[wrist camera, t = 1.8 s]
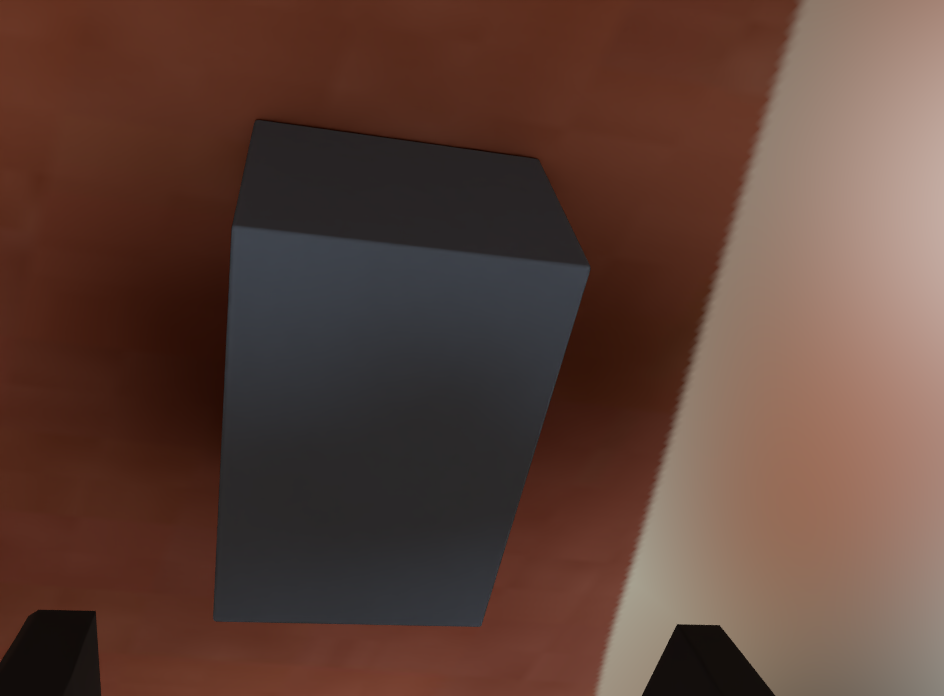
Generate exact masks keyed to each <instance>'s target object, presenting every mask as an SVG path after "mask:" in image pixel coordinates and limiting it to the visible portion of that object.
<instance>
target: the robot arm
mask: <svg viewBox="0 0 944 696" xmlns="http://www.w3.org/2000/svg"><path fill="white" fill-rule="evenodd" d="M0 696H101V686H100V671H99V655H98V640H97V625H96V611H70V610H37V611H36V612H34V613H33V614H31V615H29V616H28V618H27V619H26V621H25V623H24V625H23V626H22V628H21V630H20V631H19V633H18V635H17V636H16V638H15V640H14V641H13V643H12V645H11V646H10V648H9V649H8V651H7V653H6V654H5V656H4V657H3V659H2V661H1V662H0ZM642 696H775V695H774V694H773V692H772V691H771V690H770V688H769V687H768V686H767V685H766V684H765V682H764V681H763V680H762V678H761V677H760V676H759V675H758V673H757V672H756V671H755V669H754V668H753V667H752V666H751V664H750V663H749V662H748V660H747V659H746V658H745V657H744V655H743V654H742V653H741V652H740V650H739V649H738V648H737V647H736V645H735V644H734V643H733V642H732V640H731V639H730V638H729V637H728V635H727V634H726V633H725V632H724V630H723V629H722V628H721V627H720V625H679V624H678V625H677V626H676V628H675V630H674V632H673V634H672V636H671V638H670V640H669V642H668V644H667V646H666V648H665V650H664V652H663V654H662V656H661V658H660V660H659V662H658V664H657V666H656V668H655V670H654V672H653V674H652V676H651V678H650V680H649V682H648V684H647V686H646V688H645V690H644V692H643V695H642Z"/></svg>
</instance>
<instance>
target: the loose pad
mask: <svg viewBox="0 0 944 696" xmlns="http://www.w3.org/2000/svg"><path fill="white" fill-rule="evenodd" d="M589 272H590V265H589V263H588V261H587V259H586V257H585V254H584V252H583V250H582V248H581V246H580V244H579V242H578V240H577V238H576V236H575V234H574V232H573V230H572V228H571V226H570V223H569V221H568V219H567V217H566V215H565V213H564V211H563V209H562V207H561V205H560V203H559V201H558V199H557V197H556V194H555V192H554V190H553V188H552V186H551V184H550V182H549V180H548V178H547V176H546V174H545V172H544V170H543V168H542V166H541V163H540V161H539V160H538V159H533V158H526V157H519V156H512V155H505V154H497V153H490V152H483V151H476V150H469V149H462V148H455V147H447V146H440V145H433V144H426V143H419V142H412V141H405V140H397V139H390V138H383V137H376V136H369V135H362V134H355V133H347V132H340V131H333V130H326V129H319V128H312V127H305V126H297V125H290V124H283V123H276V122H269V121H262V120H256V121H255V123H254V127H253V132H252V136H251V141H250V145H249V150H248V155H247V159H246V164H245V169H244V173H243V178H242V182H241V187H240V192H239V196H238V201H237V206H236V210H235V215H234V220H233V224H232V231H231V252H230V273H229V294H228V315H227V336H226V357H225V378H224V400H223V421H222V442H221V463H220V484H219V505H218V526H217V547H216V568H215V589H214V610H213V619H214V621H219V622H269V623H319V624H369V625H419V626H469V627H479V626H481V625H482V621H483V618H484V615H485V612H486V608H487V605H488V602H489V599H490V595H491V592H492V589H493V586H494V582H495V579H496V576H497V573H498V569H499V566H500V563H501V559H502V556H503V553H504V550H505V546H506V543H507V540H508V537H509V533H510V530H511V527H512V524H513V520H514V517H515V514H516V511H517V507H518V504H519V501H520V497H521V494H522V491H523V488H524V484H525V481H526V478H527V475H528V471H529V468H530V465H531V462H532V458H533V455H534V452H535V449H536V445H537V442H538V439H539V436H540V432H541V429H542V426H543V422H544V419H545V416H546V413H547V409H548V406H549V403H550V400H551V396H552V393H553V390H554V387H555V383H556V380H557V377H558V374H559V370H560V367H561V364H562V360H563V357H564V354H565V351H566V347H567V344H568V341H569V338H570V334H571V331H572V328H573V325H574V321H575V318H576V315H577V312H578V308H579V305H580V302H581V298H582V295H583V292H584V289H585V285H586V282H587V279H588V276H589Z"/></svg>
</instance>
